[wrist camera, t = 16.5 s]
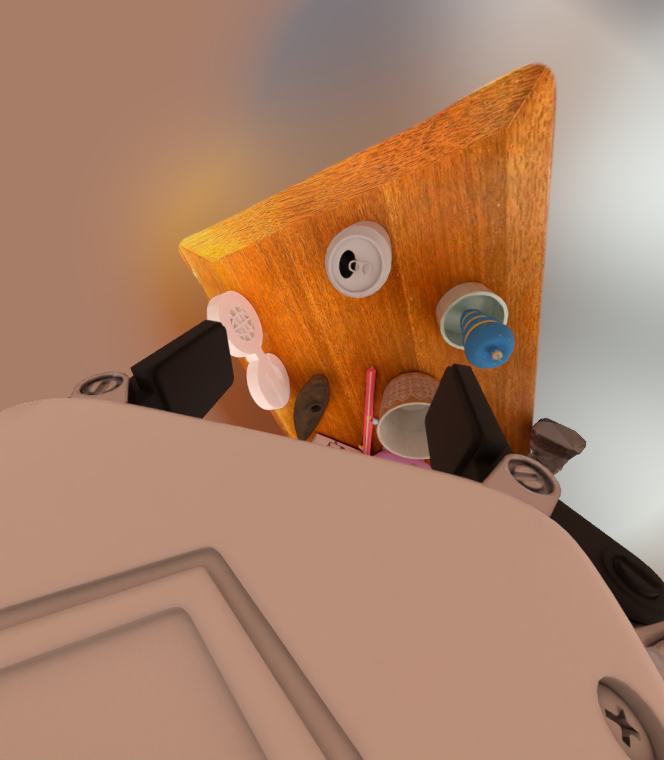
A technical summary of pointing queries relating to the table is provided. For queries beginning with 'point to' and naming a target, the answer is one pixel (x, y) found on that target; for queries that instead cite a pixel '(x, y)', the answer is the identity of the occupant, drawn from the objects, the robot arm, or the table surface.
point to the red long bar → (369, 411)
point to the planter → (406, 414)
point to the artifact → (310, 405)
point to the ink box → (332, 443)
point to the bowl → (465, 299)
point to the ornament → (485, 339)
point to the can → (359, 259)
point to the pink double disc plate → (251, 349)
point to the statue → (554, 444)
